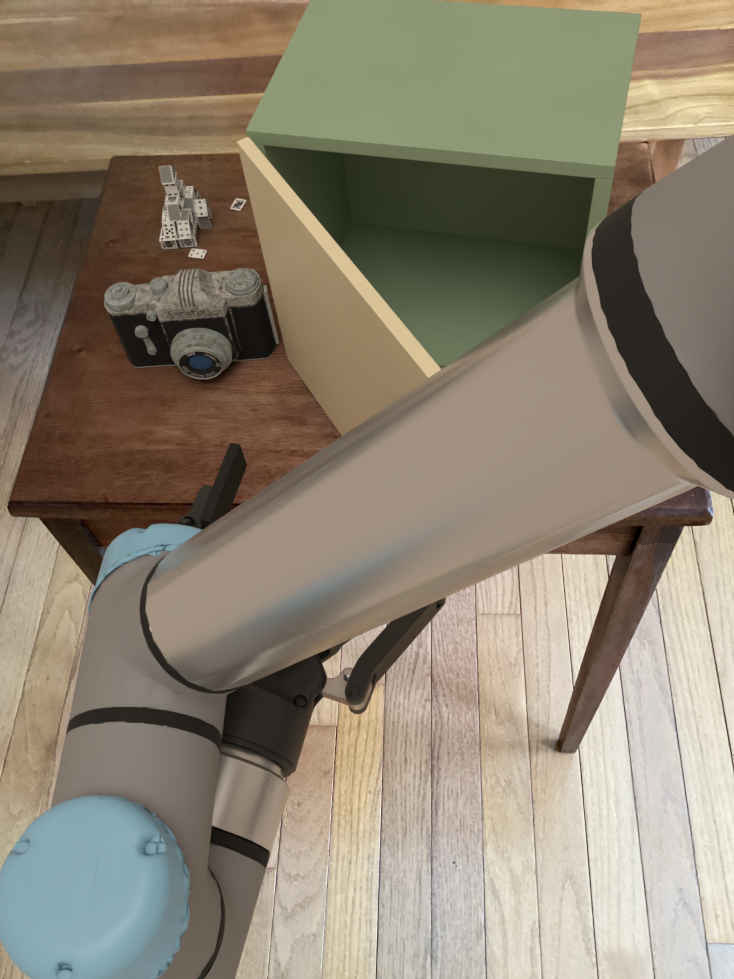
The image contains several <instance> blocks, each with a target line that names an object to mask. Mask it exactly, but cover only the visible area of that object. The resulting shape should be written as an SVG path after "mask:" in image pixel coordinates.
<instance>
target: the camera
mask: <svg viewBox="0 0 734 979" xmlns="http://www.w3.org/2000/svg"><path fill="white" fill-rule="evenodd" d="M103 299H104V300H103V304H104V308H105V310H106V312H107V315H108V317H109V319H110V321H111V324H112V325H113V328H114V330H115V332H116V334H117V336H118V339H119V341H120V343H121V346H122V347H123V350H124V351H125V354H126V357H127V359H128V361H129V363H130V364H131V366H132V367H133V368H135V369H139V368H140V369H141V368H143V369H144V368H156V367H172V366H173V367H174V366H177V368H179V370H180V371H181V372H182V373H183V374H184V375H185V376H187V377H189V378H192V379H195V380H204V381H205V380H211V379H214V378H216V377H218V376H219V375H220V374H221V373H222V372H224V371H225V370H227V369H228V367H230V365H231V363H233V362H242V361H243V362H244V361H255V360H267V359H269V358H270V357H272V355H273V354H274V352H275V351H276V349H277V345H280V338H279V334H278V329H277V325H276V321H275V316H274V312H273V309H272V304H271V299H270V295H269V292H268V287H267V285H266V284H265V285H264V284H263V282H262V279H261V276H260V274H259V272H258V271H257V270H255V269H253V268H248V267H238V268H236V269H233V270H221V271H220V270H219V271H208V270H206V269H201V268H189V269H188V268H187V269H179V271H178V272H177V273H176V274H170V275H169V274H167V275H163V276H162V277H161V276H157V277H154V278H152V279H151V280H150V282H148V283H140V284H133V283H130V282H128V281H119V282H116V283H114V284H112V285H110V286H109V287H108V288H107V289H106V290H105V292H104V298H103Z"/></svg>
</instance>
